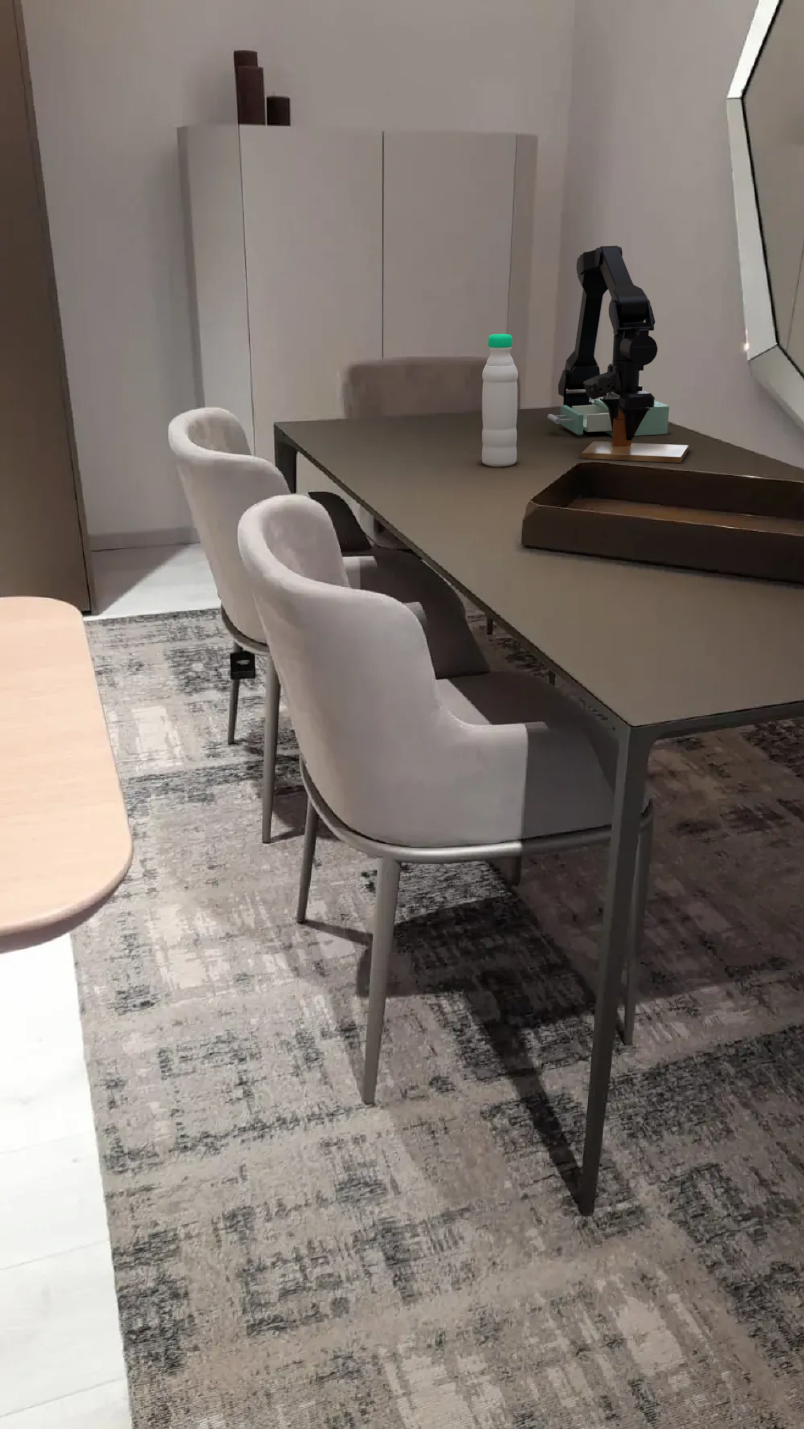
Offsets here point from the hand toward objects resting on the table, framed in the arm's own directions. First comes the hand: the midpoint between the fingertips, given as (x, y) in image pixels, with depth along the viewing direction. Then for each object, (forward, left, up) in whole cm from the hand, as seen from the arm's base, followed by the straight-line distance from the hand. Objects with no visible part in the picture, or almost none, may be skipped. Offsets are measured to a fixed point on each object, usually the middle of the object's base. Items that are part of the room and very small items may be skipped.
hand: (622, 436), depth 231 cm
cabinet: (-3, +24, -3) cm, 24 cm away
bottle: (0, 0, -2) cm, 2 cm away
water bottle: (-22, -18, -3) cm, 29 cm away
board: (+3, -3, -3) cm, 6 cm away
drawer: (-12, +18, -2) cm, 22 cm away
